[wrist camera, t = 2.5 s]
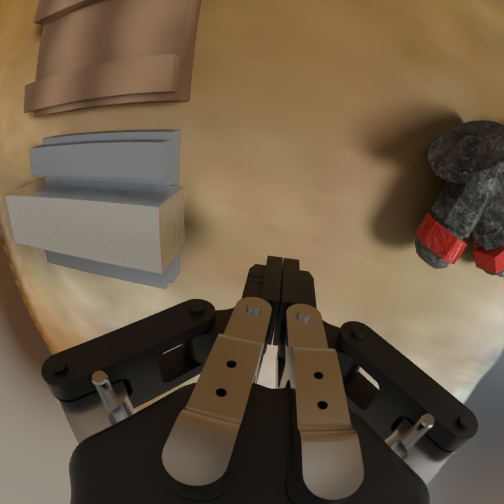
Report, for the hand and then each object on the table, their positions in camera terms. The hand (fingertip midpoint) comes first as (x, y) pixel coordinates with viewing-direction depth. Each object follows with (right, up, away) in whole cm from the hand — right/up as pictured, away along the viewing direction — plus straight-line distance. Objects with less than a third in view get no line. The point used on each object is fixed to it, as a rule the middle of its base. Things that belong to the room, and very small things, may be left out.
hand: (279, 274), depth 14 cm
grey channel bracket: (-12, +5, +6) cm, 15 cm away
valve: (+21, +7, +1) cm, 23 cm away
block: (-13, +4, +5) cm, 14 cm away
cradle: (-11, +16, 0) cm, 20 cm away
